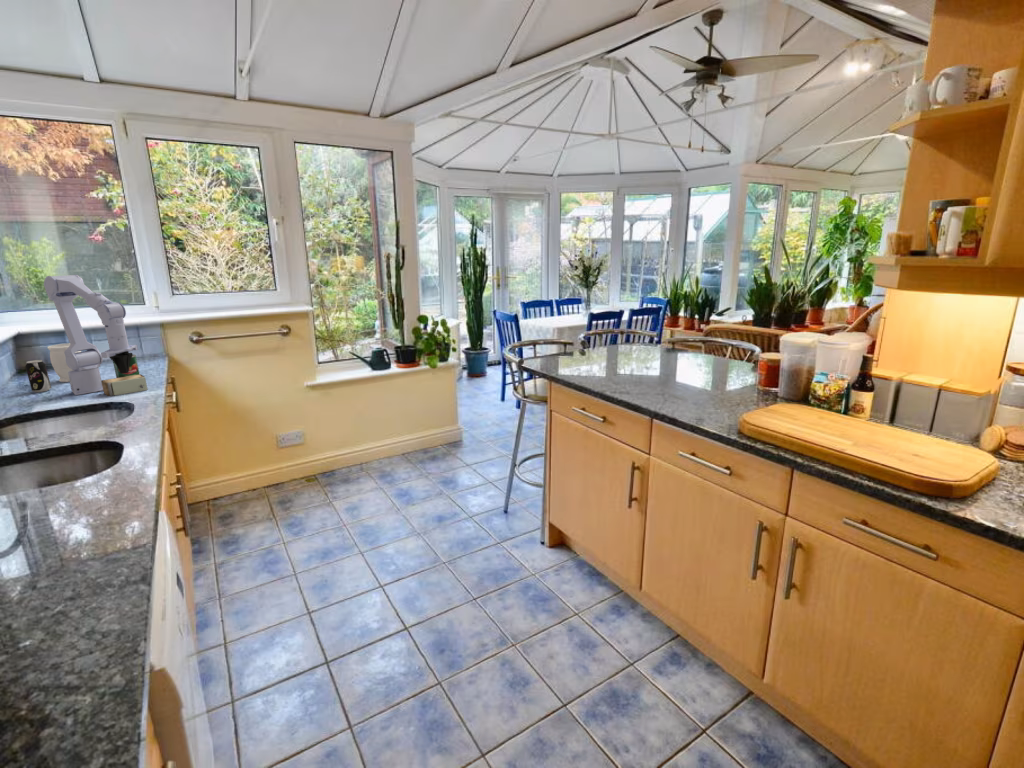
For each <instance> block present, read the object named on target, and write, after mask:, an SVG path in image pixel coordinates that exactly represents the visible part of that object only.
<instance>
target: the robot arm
mask: <svg viewBox="0 0 1024 768" xmlns="http://www.w3.org/2000/svg"><path fill="white" fill-rule="evenodd" d="M43 287H44V289H45V293H46V294H47V297H48V299H49V300H50V301H53V303H54V306H55V308H56V311H57V314H58V316H59V318H60V321H61V324H62V327H63V328H64V329H63V330H64V332H65V334H66V336H67V339H68V342H69V343H70V346H69V347H68V348H67V349H66V350H65V352H64V353H65V357H66V364H67V365H68V367H69V368H71V369H72V370H73V371H68V376H69V381H70V382H69V384H70V389H71V392H72V393H73V394H74V395H75V396H78V395H83V394H91V393H96V392H104V391H103V386H102V382H101V380H102V377H101V373H100V368H101V365H102V364H103V359H110V360H111V361H112V363H113V362H114V363H115V364H116V366H117V367H118V369H119V371H120V373H129V365H130V360H131V358H132V356H133V355H134V354H133V351H138V350H139V349H138V345H137V344H129V341H128V335H127V331H126V327H125V322H124V321H125V320H124V318H126V316H127V311H126V307H125V306H124V305H123V304H122V303H121V302H119V301H118V302H115V301H111V300H110V299H109V298H107V297H106V296H104V295H103V293H101V292H100V291H98V292H97V291H96V292H94V291H92V290H91V289H90V288H89V287H88V286H87V285H85V283H84V279H83V278H82V277H81V276H79V275H78V274H70V275H69V274H68V275H66V274H65V275H46V277H45V278H44V281H43ZM78 297H81V298H82V299H84V300H85V304H86V305H87V306H89V307H90V308H91V309H93V310H94V311H95V312H97V315H98V317H99V319H100V320H101V324H102V325H103V326H104V329H105V333H106V339H107V343H108V344H107V345H108V347H109V349H107V350H105V351H103V352H100V350H99V349H98V347H97V345H95V344H93V343H90V342H89V341H88V340H87V337H86V334H85V332H84V329H83V327H82V325H81V322H80V319H79V317H78V314H77V311H76V309H75V305H74V304H73V300H74V299H76V298H78ZM77 351H81V352H78V353H75V352H77Z"/></svg>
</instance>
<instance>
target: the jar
mask: <svg viewBox="0 0 1024 768" xmlns="http://www.w3.org/2000/svg"><path fill="white" fill-rule="evenodd" d="M69 346H70V342H69V343H59V344H52V345H49V346H47V350H49V358H50V363H51V366H52V368H53V370H54V372H55V374H56V375H57V376H58V378H59V379H58V381H59V382H61V383H70V381H69V376H68V371H73V370H72V369H71V368H69V367H68V365H67V364H66V357H65V353H64V352H65V350H66V349H67V348H68V347H69ZM78 352H82V351H77V352H75V353H78Z"/></svg>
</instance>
